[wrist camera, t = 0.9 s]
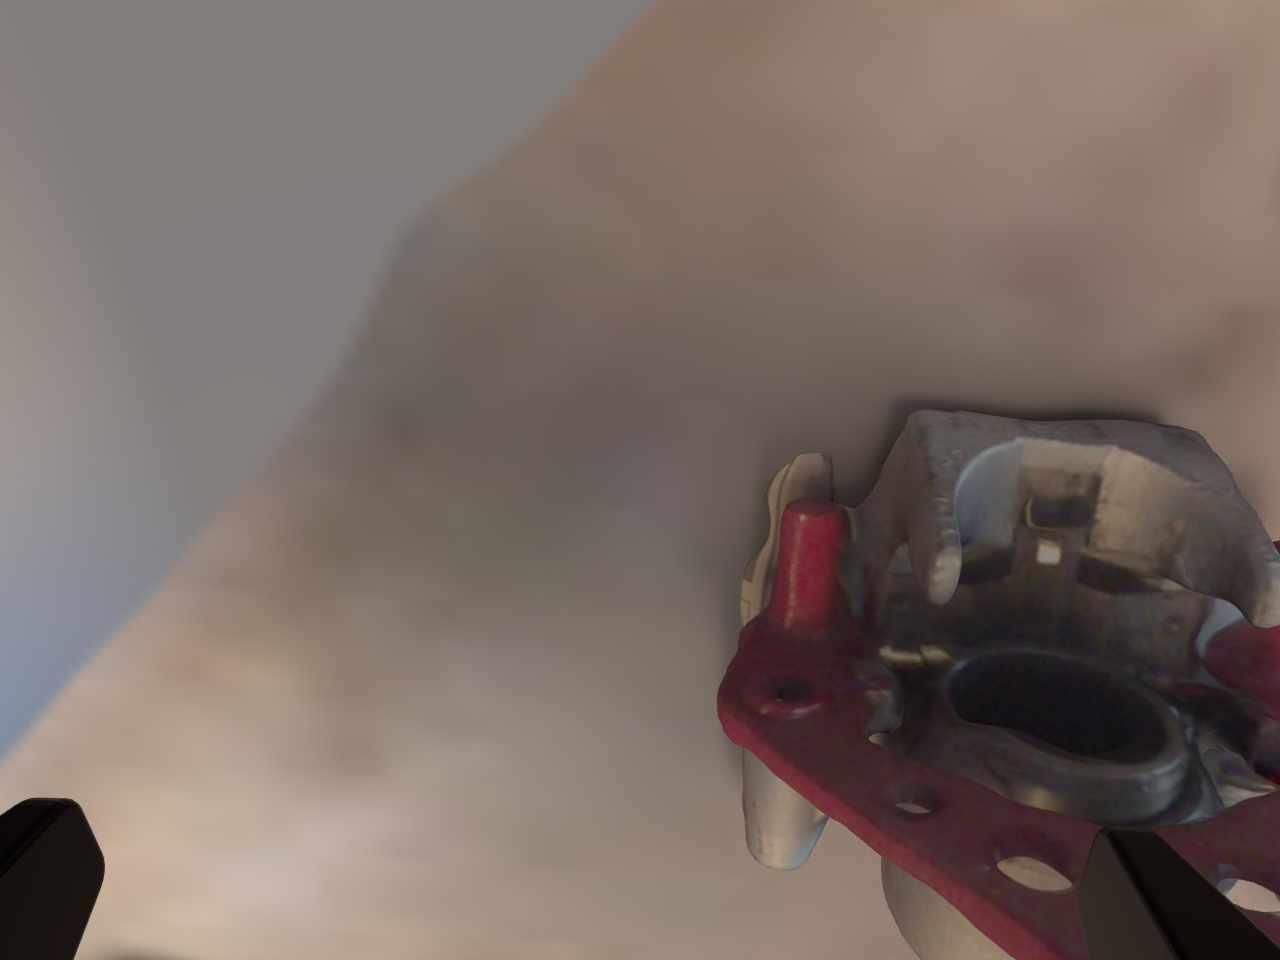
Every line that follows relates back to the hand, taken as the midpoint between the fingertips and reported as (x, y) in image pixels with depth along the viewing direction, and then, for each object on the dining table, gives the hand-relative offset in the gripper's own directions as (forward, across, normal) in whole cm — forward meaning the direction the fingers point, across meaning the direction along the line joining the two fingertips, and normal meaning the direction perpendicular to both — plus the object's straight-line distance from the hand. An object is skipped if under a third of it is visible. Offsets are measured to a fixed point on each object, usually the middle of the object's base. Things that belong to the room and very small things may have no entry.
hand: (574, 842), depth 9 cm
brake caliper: (+11, -7, +6) cm, 15 cm away
